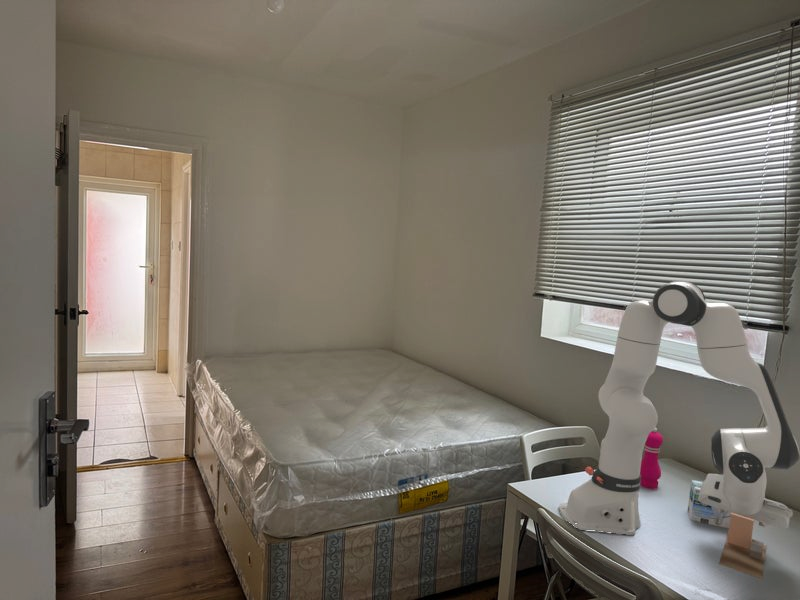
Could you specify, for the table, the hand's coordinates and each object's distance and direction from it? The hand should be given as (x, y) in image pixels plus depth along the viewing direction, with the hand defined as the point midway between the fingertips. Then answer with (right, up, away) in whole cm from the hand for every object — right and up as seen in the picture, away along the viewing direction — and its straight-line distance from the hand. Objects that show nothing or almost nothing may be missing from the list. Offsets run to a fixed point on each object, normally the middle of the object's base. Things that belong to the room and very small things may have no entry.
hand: (741, 517), depth 145 cm
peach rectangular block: (0, -7, 0) cm, 7 cm away
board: (-3, -8, -6) cm, 11 cm away
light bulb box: (-2, -7, +12) cm, 14 cm away
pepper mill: (-9, -3, +35) cm, 36 cm away
